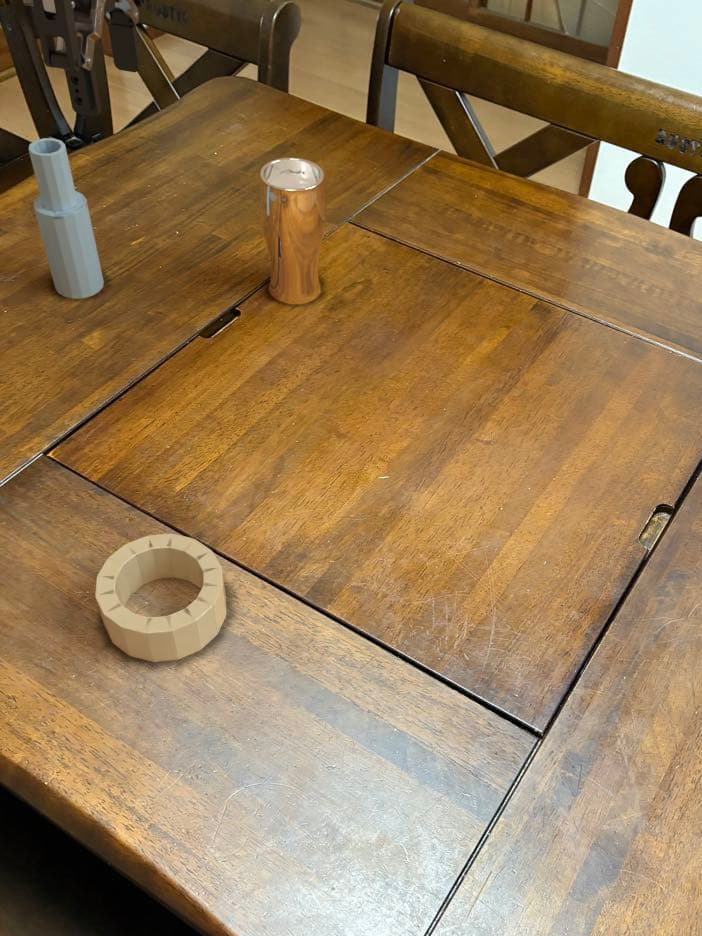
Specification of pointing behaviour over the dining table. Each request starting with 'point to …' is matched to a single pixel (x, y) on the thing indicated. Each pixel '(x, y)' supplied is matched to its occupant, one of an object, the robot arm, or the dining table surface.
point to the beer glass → (293, 226)
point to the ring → (148, 564)
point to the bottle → (64, 222)
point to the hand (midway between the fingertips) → (108, 90)
